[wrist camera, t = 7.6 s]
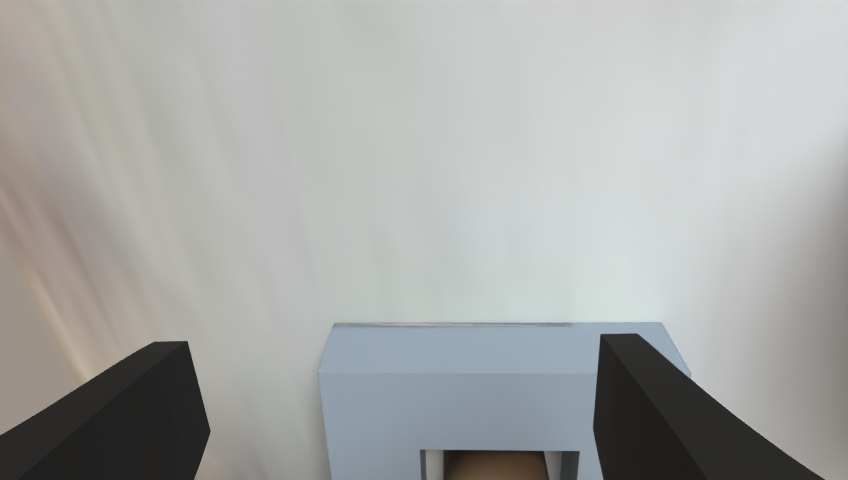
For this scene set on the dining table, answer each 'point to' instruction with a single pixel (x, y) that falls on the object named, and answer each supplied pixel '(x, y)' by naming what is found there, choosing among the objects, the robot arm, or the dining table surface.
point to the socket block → (465, 394)
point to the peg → (494, 465)
